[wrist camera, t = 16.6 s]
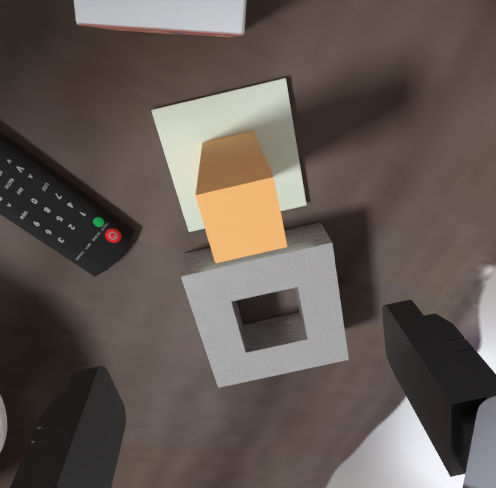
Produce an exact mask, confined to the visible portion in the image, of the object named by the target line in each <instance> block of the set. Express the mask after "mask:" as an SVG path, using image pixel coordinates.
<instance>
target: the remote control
mask: <svg viewBox="0 0 496 488" xmlns="http://www.w3.org/2000/svg"><path fill="white" fill-rule="evenodd" d="M0 214H1V215H3V216H4V217H6V218H7V219H9V220H10V221H12V222H13V223H15V224H16V225H18V226H19V227H21V228H22V229H24V230H25V231H27V232H28V233H30V234H31V235H33V236H34V237H36V238H37V239H39V240H40V241H42V242H43V243H45V244H46V245H48V246H49V247H51V248H52V249H54V250H55V251H57V252H58V253H60V254H61V255H63V256H64V257H66V258H67V259H69V260H71V261H72V262H74V263H75V264H77V265H78V266H80V267H81V268H83V269H84V270H86V271H87V272H89V273H90V274H92V275H93V276H97V275H99V274H100V273H102V272H104V271H106V270H108V269H109V268H110V267H111V266H112V265H113V264H115V263H116V262H117V261H118V260H119V259H120V257H121V256H122V255H123V253H124V252H125V250H126V249H127V247H128V244H129V242H130V239H131V237H132V234H133V232H134V231H133V230H132V229H131V228H129V227H128V226H126V225H125V224H124V223H122V222H121V221H120V220H118V219H117V218H116V217H114V216H113V215H111V214H110V213H109V212H107V211H106V210H105V209H103V208H102V207H101V206H99V205H98V204H97V203H95V202H94V201H92V200H91V199H90V198H88V197H87V196H86V195H84V194H83V193H82V192H80V191H79V190H77V189H76V188H75V187H73V186H72V185H71V184H69V183H68V182H67V181H65V180H64V179H62V178H61V177H60V176H58V175H57V174H56V173H54V172H53V171H52V170H50V169H49V168H48V167H46V166H45V165H43V164H42V163H41V162H39V161H38V160H37V159H35V158H34V157H33V156H31V155H30V154H28V153H27V152H26V151H24V150H23V149H22V148H20V147H19V146H18V145H16V144H15V143H13V142H12V141H11V140H9V139H8V138H7V137H5V136H4V135H3V134H1V133H0Z"/></svg>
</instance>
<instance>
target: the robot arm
mask: <svg viewBox="0 0 496 488" xmlns="http://www.w3.org/2000/svg"><path fill="white" fill-rule="evenodd" d="M383 324H384V337H385V349H386V354H387V358H388V361H389V364H390V366H391V368H392V370H393V372H394V374H395V376H396V378H397V380H398V382H399V383H400V385H401V387H402V389H403V391H404V392H405V394H406V396H407V398H408V400H409V402H410V403H411V405H412V407H413V409H414V411H415V413H416V414H417V416H418V418H419V420H420V422H421V424H422V425H423V427H424V429H425V431H426V433H427V434H428V436H429V438H430V440H431V442H432V444H433V446H434V447H435V449H436V451H437V453H438V455H439V456H440V458H441V460H442V462H443V464H444V466H445V468H446V469H447V471H448V473H449V475H450V476H456V475H461V474H465V479H464V484H463V488H496V374H495V373H494V372H493V370H492V369H491V368H490V367H489V366H488V365H487V363H486V362H485V361H484V360H483V359H482V358H481V356H480V355H479V354H478V353H477V352H476V351H474V349H473V347H472V346H471V345H470V343H469V342H468V341H467V340H465V339H464V336H463V335H462V334H461V333H460V332H459V331H458V329H457V328H456V327H455V326H454V325H453V323H451V322H449V321H447V320H446V319H444V318H442V317H440V316H439V315H437V314H430V315H426V316H424V315H423V314H422V313H421V311H420V310H419V309H418V307H417V306H416V305H415V303H414V302H413V301H412V300H406V301H401V302H397V303H392V304H388V305H384V306H383ZM125 424H126V414H125V408H124V404H123V402H122V400H121V398H120V395H119V393H118V391H117V389H116V387H115V385H114V383H113V381H112V379H111V377H110V375H109V372H108V371H107V369H106V368H105V367H104V366H98V367H94V368H89V369H85V370H80V371H76V372H75V373H74V374H73V376H72V379H71V381H70V383H69V386H68V388H67V390H66V392H65V393H61V394H59V395H58V396H57V397H56V398H55V399H54V400H53V402H52V403H51V404H50V405H49V406H48V407H47V409H46V410H45V412H44V414H43V416H42V418H41V420H40V423H39V425H38V427H37V428H38V430H37V431H35V434H34V436H33V438H32V440H31V445H29V447H28V449H27V451H26V453H25V456H24V458H23V460H22V462H21V464H20V467H19V469H18V471H17V473H16V475H15V477H14V480H13V482H12V484H11V486H10V488H111V486H112V482H113V477H114V473H115V469H116V464H117V460H118V455H119V451H120V447H121V442H122V438H123V434H124V429H125Z"/></svg>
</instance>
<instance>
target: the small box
mask: <svg viewBox="0 0 496 488" xmlns="http://www.w3.org/2000/svg"><path fill="white" fill-rule="evenodd" d="M246 2H247V0H74V7H75V17H76V23H77V24H78V25H80V26H90V27H97V28H104V29H111V30H120V31H137V32H148V33H162V34H179V35H200V36H219V37H235V36H243V35H244V33H245V18H246Z"/></svg>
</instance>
